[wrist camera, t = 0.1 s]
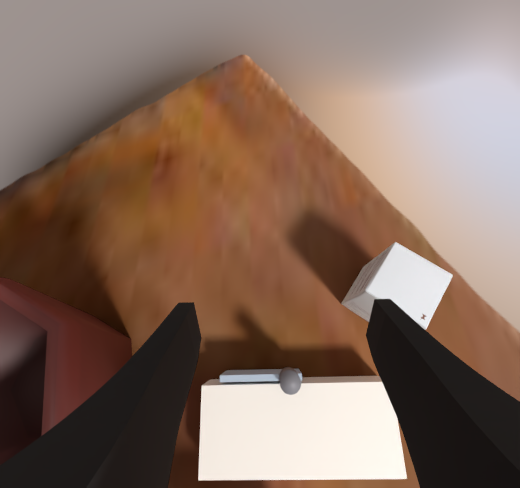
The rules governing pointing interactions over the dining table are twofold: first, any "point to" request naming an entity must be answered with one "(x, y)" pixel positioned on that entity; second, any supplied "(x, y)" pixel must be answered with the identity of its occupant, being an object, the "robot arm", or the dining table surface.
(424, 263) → the supplement box
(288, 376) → the flap
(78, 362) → the bucket
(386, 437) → the carton
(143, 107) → the dining table surface
